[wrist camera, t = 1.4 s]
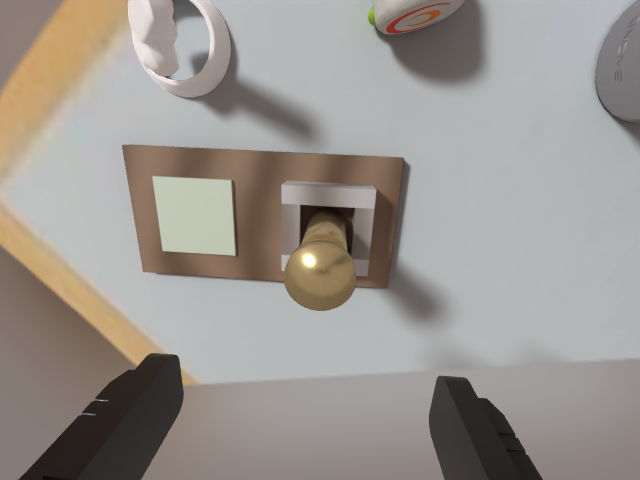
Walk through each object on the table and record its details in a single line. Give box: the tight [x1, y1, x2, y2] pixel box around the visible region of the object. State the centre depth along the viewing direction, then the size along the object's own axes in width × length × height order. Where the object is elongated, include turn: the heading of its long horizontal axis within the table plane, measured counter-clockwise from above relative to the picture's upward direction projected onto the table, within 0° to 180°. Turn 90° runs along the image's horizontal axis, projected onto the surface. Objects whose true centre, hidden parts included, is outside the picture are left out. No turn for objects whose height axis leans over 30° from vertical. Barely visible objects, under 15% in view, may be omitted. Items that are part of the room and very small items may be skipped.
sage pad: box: [152, 176, 236, 256], centre depth 27 cm, size 7×7×1 cm
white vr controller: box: [128, 0, 231, 97], centre depth 21 cm, size 8×12×7 cm
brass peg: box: [284, 207, 356, 311], centre depth 22 cm, size 4×4×11 cm
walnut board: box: [122, 145, 404, 288], centre depth 26 cm, size 24×12×4 cm, turn 88°
